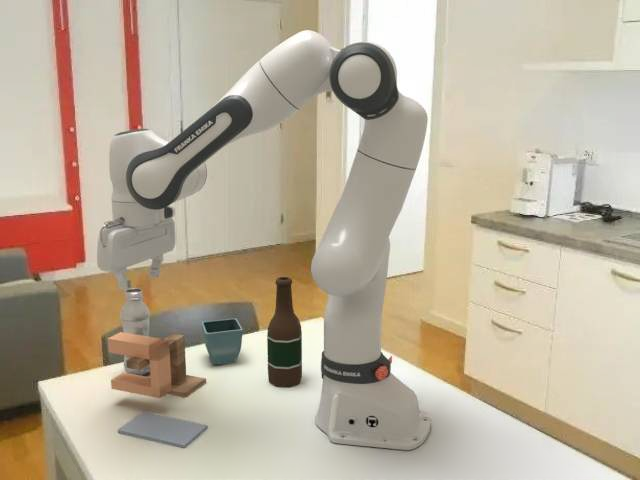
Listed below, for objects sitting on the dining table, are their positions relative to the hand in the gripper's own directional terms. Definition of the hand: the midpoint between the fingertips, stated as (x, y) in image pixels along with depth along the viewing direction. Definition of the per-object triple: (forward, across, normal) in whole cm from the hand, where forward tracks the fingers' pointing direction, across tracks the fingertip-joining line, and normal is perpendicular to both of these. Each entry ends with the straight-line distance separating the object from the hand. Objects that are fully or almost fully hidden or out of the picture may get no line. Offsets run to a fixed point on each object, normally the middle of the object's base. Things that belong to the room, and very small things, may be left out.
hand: (140, 282), depth 129 cm
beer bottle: (+27, +22, -21) cm, 41 cm away
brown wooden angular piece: (+27, +5, 0) cm, 27 cm away
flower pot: (+27, +27, -2) cm, 38 cm away
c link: (+23, 0, +1) cm, 23 cm away
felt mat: (+27, -7, -9) cm, 29 cm away
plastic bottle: (+27, +13, +12) cm, 32 cm away
